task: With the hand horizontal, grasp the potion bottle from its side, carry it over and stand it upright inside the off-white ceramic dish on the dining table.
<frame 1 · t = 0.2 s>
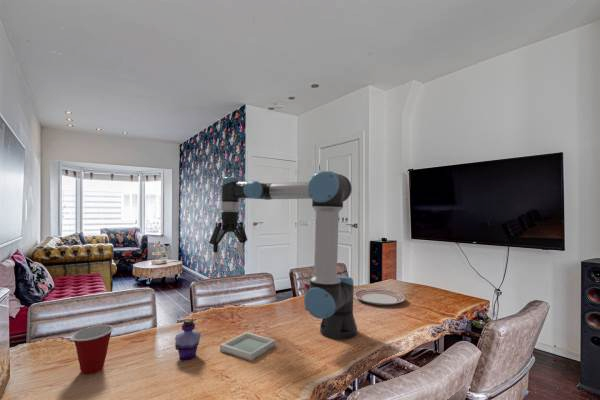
hand: (228, 258, 145), 28 cm above the table, tool pointing down, fingers open, 13 cm apart
dinner plate: (379, 301, 179), on the table
potion bottle: (187, 357, 108), on the table
mug: (311, 308, 163), on the table
dish: (248, 348, 115), on the table
plastic cup: (91, 370, 98), on the table
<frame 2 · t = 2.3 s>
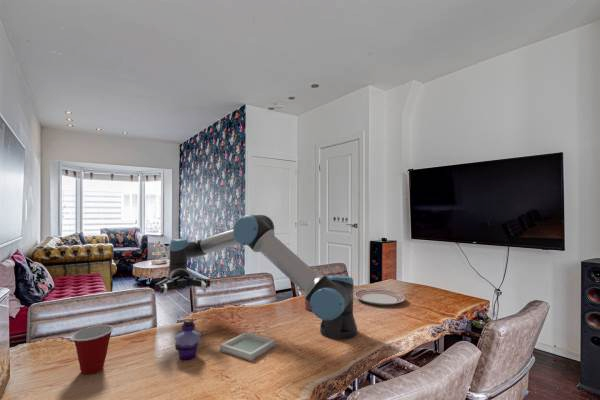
hand: (186, 290, 117), 20 cm above the table, tool horizontal, fingers open, 13 cm apart
nothing on the table moved.
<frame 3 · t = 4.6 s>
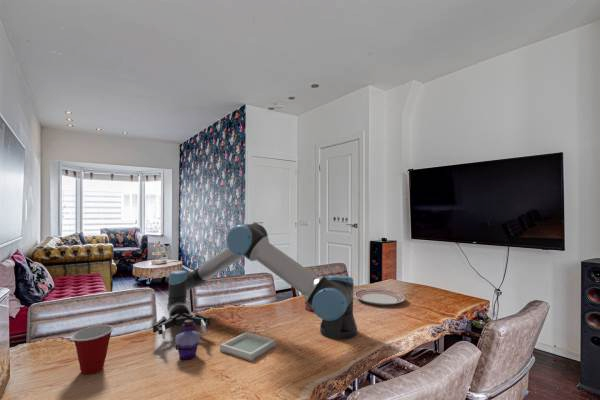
hand: (184, 332, 113), 6 cm above the table, tool horizontal, fingers open, 13 cm apart
nothing on the table moved.
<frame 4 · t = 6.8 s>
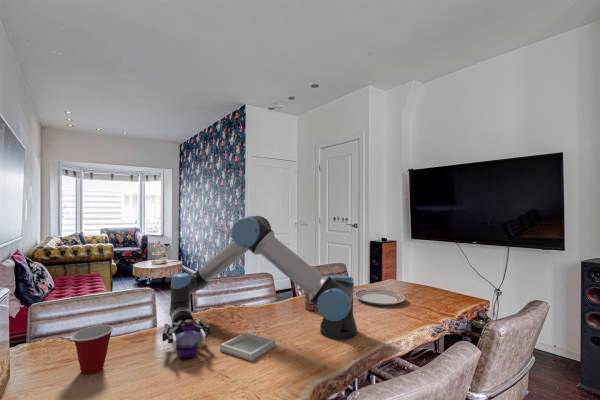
hand: (190, 342, 104), 7 cm above the table, tool horizontal, fingers closed on potion bottle, 8 cm apart
potion bottle: (187, 357, 108), on the table, touching gripper
everything else where it was.
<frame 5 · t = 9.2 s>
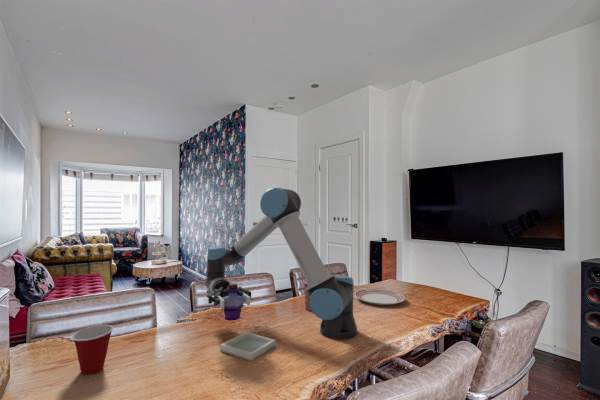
hand: (236, 302, 110), 18 cm above the table, tool horizontal, fingers closed on potion bottle, 8 cm apart
potion bottle: (232, 318, 114), point 11 cm above the table, touching gripper
everything else where it was.
when the fingers open (9 cm above the table, at t = 11.8 s): potion bottle drops 2 cm, resting on dish.
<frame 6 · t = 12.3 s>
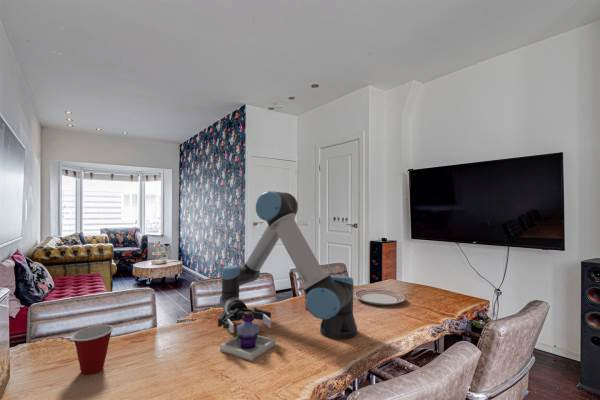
hand: (251, 326, 112), 9 cm above the table, tool horizontal, fingers open, 13 cm apart
potion bottle: (247, 346, 115), point 1 cm above the table, touching dish
everything else where it was.
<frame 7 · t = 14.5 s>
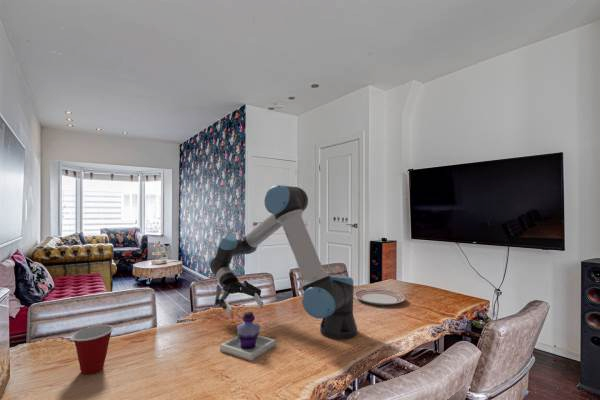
hand: (246, 308, 126), 11 cm above the table, tool tilted 70°, fingers open, 13 cm apart
nothing on the table moved.
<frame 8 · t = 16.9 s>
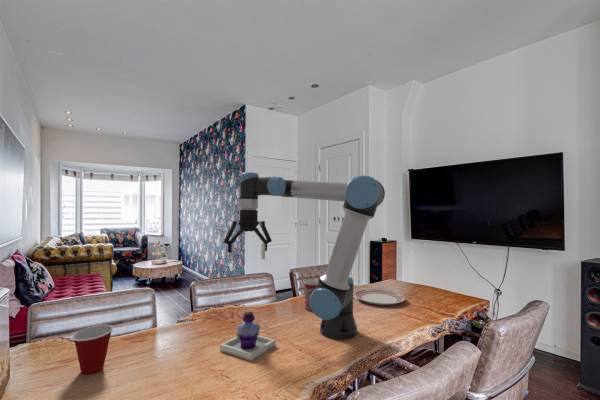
hand: (247, 259, 134), 29 cm above the table, tool pointing down, fingers open, 13 cm apart
nothing on the table moved.
at the end: potion bottle inside the target area on the dish (0.2 cm from its centre), point 0.6 cm above the dish's base; potion bottle tilted 0°; the gripper is holding nothing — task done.
